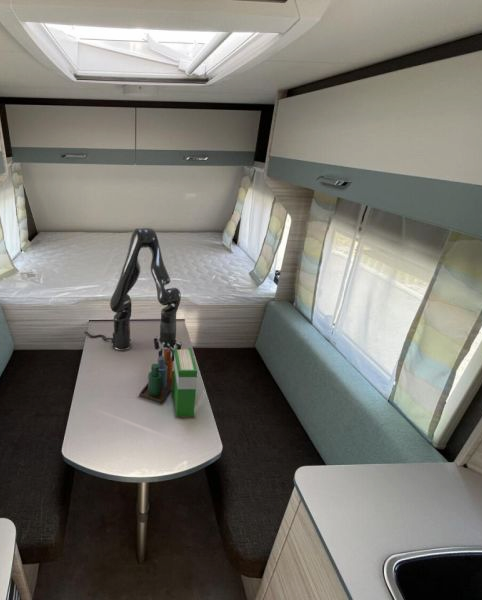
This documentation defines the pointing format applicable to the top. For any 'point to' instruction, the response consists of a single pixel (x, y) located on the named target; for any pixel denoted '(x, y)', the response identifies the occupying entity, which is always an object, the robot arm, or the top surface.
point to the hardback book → (184, 382)
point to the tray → (163, 392)
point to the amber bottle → (168, 363)
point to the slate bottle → (162, 371)
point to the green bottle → (154, 381)
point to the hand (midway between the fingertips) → (167, 358)
